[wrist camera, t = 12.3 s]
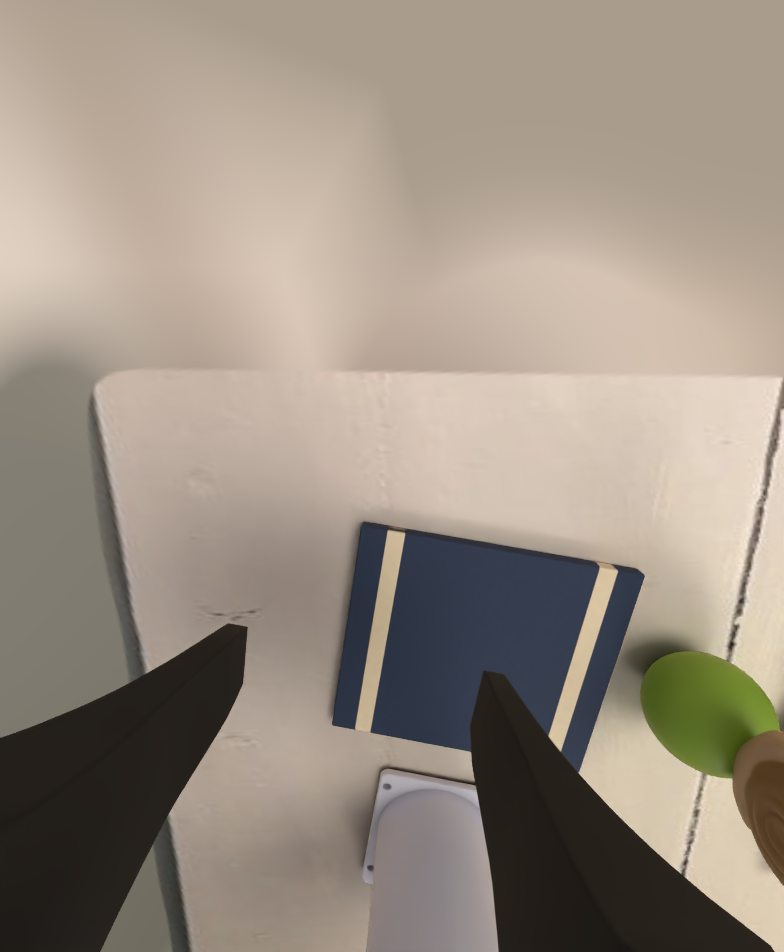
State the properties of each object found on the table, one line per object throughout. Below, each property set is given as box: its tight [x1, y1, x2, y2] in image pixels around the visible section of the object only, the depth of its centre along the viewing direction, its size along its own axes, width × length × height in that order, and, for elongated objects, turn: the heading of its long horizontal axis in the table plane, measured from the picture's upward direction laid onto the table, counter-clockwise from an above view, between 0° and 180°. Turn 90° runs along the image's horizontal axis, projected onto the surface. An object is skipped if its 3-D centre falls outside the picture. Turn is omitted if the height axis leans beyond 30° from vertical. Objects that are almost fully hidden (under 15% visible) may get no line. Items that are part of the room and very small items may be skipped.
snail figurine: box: [641, 651, 784, 885], centre depth 17 cm, size 5×6×12 cm
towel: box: [332, 522, 645, 772], centre depth 23 cm, size 13×15×1 cm
